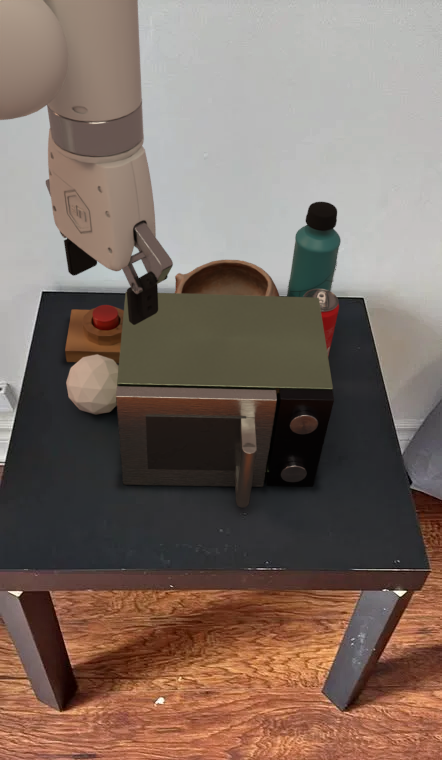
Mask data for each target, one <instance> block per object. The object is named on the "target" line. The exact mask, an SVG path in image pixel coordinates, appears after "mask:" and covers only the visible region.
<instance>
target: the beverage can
mask: <svg viewBox="0 0 442 760" xmlns="http://www.w3.org/2000/svg"><path fill="white" fill-rule="evenodd" d="M303 297H313V298H319V302H320V309H321V315H322V322H323V328H324V334H325V341H326V347H327V353H328V357H329V356H330V351H331V347H332V343H333V337H334V333H335V329H336V328H335V327H336V324H337V319H338V314H339V310H340V304H339V299H338V297H337V295H336V294H335V293H334V292H332V291H331V292H330V291H328V290H325V289H312V290H309V291H307V292H306V293H305V294H304V296H303Z"/></svg>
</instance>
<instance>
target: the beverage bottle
mask: <svg viewBox="0 0 442 760" xmlns="http://www.w3.org/2000/svg"><path fill="white" fill-rule="evenodd" d="M337 221H338V209H337V207H336V206H335V205H334V204H332V203H331V202H327V201H315V202H313V203H311V204H310V205H309V206H308V209H307V213H306V215H305V224H306V225H304V226H301V228H299V229H298V230H297V231H296V233H295V237H294V238H295V240H294V247H293V248H294V249H293V254H292V260H291V269H290V274H289V279H288V286H287V287H286V288H287V289H286V290H287V291H286V293H287V294H286V297H303V296H304V294H305V293H306V292H307V291H309V290H312V289H325V290H328V291H330V292H332V288H333V282H334V277H335V272H336V271H337V267H338V266H337V265H338V256H339V249H340V246H341V241H342V239H341V236H340V234H339V233H338V232H337V231H336V230H335V229H334V228H336V226H337Z"/></svg>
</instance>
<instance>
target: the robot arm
mask: <svg viewBox="0 0 442 760" xmlns="http://www.w3.org/2000/svg"><path fill="white" fill-rule="evenodd" d="M139 23H140V21H139V1H138V0H0V121H5V120H6V121H7V120H14V119H19V118H23V117H26V116H29V115H31V114H35V113H37V112H39V111H41V109H43V108H45V107H47V115H48V121H49V129H48V140H47V166H48V167H47V168H48V179H46V180H45V187H46V188H47V191H48V193H49V196H50V200H51V201H50V202H51V209H52V215H53V220H54V225H55V226H56V228H57V230H59V233H60V235H61V237H62V238H63V239H64V240H63V245H64V251H65V257H66V266H67V272H68V273H69V274H70V275H71V276H78V275H79V274H82V273H84V272H86V271H88V270H90V269H92V268H94V267H96V266H97V265H98V263H99V264H101V265H102V266H103V267H105V268H106V269H108V270H110V271H112V272H120V271H123V274H124V277H125V278H126V281H127V282H128V285H129V287H128V288H127V289H126V292H127V302H128V316H129V322H130V323H132V324H133V325H136V324H138V323H140V322H141V321H143V320H145V319H147V318H149V317H151V316H152V315H154V314H156V313H157V312H158V293H159V289H158V288H159V287H158V285H159V284H160V283H162V282H164V281H165V280H167V279H168V277H169V276H168V275H169V273H170V271H171V270H172V268H173V265H174V262H173V260H172V258H171V256H170V255H169V254H168V252H167V251H166V250H165V249H164V247H163V245H162V244H161V242H160V241H159V240H158V239H157V236H156V235H157V233H156V231H157V229H156V214H155V211H156V210H155V204H154V203H155V202H154V193H153V186H152V185H153V184H152V180H151V173H150V167H149V162H148V158H147V153H146V149H145V148H144V146H143V145H144V142H145V135H144V134H145V133H144V112H143V111H144V109H143V97H142V96H143V95H142V71H141V70H142V69H141V49H140V48H141V46H140V24H139ZM134 248H136V249H137V250H138V252H136V253H134V254H133V252H134ZM140 260H141V263H142V264H143V266H144V269H145V271H146V273H144V274H143V275H141V276H139V275H138V273H137V271H136V268H135V267H134V265H133V264H134V263H136V262H138V261H140Z"/></svg>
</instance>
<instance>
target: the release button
mask: <svg viewBox="0 0 442 760" xmlns="http://www.w3.org/2000/svg"><path fill="white" fill-rule="evenodd" d="M115 307H116V306H113V305H109V304H101V305H97V307H94V308H95V309H94V308H93V309H94V310H93V313H92V315H93V324H94V326H95V327H96V328H97V329H99V330H112V329H114V328H116V327H117V326H118V324H119V318H118V311H117V309H116V308H117V307H116V308H115Z"/></svg>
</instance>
